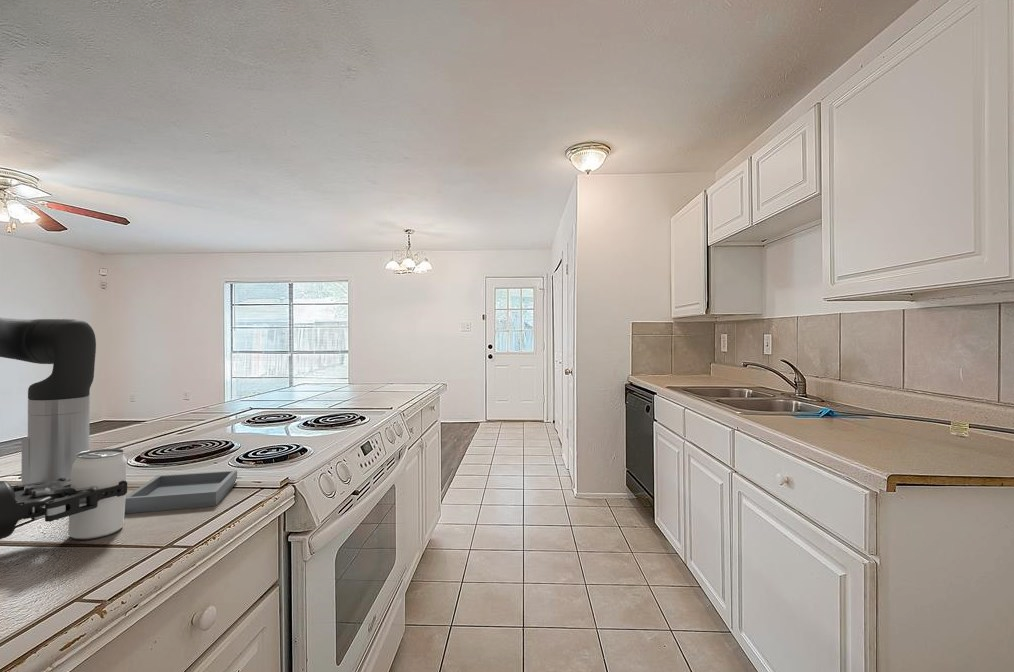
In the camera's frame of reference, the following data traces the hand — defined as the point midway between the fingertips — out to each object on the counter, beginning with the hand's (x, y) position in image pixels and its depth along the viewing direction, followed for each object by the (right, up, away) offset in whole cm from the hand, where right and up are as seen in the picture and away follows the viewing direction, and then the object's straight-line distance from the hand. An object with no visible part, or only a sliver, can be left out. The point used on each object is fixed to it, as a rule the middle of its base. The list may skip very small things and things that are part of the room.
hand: (115, 483), depth 75 cm
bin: (+1, -7, +14) cm, 16 cm away
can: (-1, -7, -2) cm, 7 cm away
